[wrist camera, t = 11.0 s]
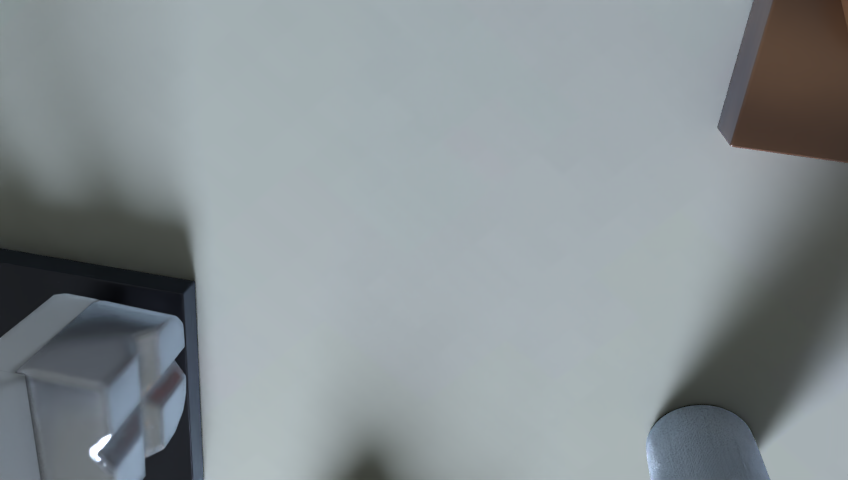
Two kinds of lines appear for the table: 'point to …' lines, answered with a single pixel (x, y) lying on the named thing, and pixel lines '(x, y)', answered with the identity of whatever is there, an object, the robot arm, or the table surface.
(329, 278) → the table surface
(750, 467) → the white hollow cylinder
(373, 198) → the table surface
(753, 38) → the button block
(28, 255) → the black lever stand
